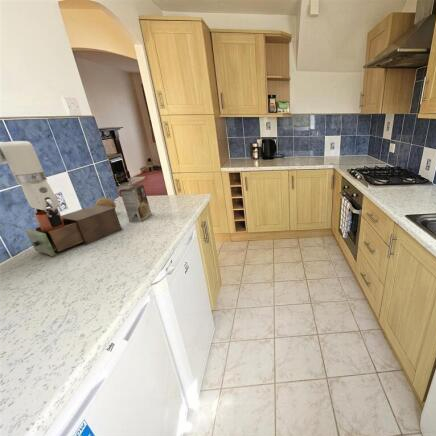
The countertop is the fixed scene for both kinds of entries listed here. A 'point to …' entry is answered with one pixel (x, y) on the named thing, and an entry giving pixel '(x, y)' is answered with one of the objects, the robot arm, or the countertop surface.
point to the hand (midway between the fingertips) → (51, 223)
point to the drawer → (55, 238)
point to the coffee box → (135, 202)
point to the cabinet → (95, 222)
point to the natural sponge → (106, 202)
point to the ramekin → (46, 221)
